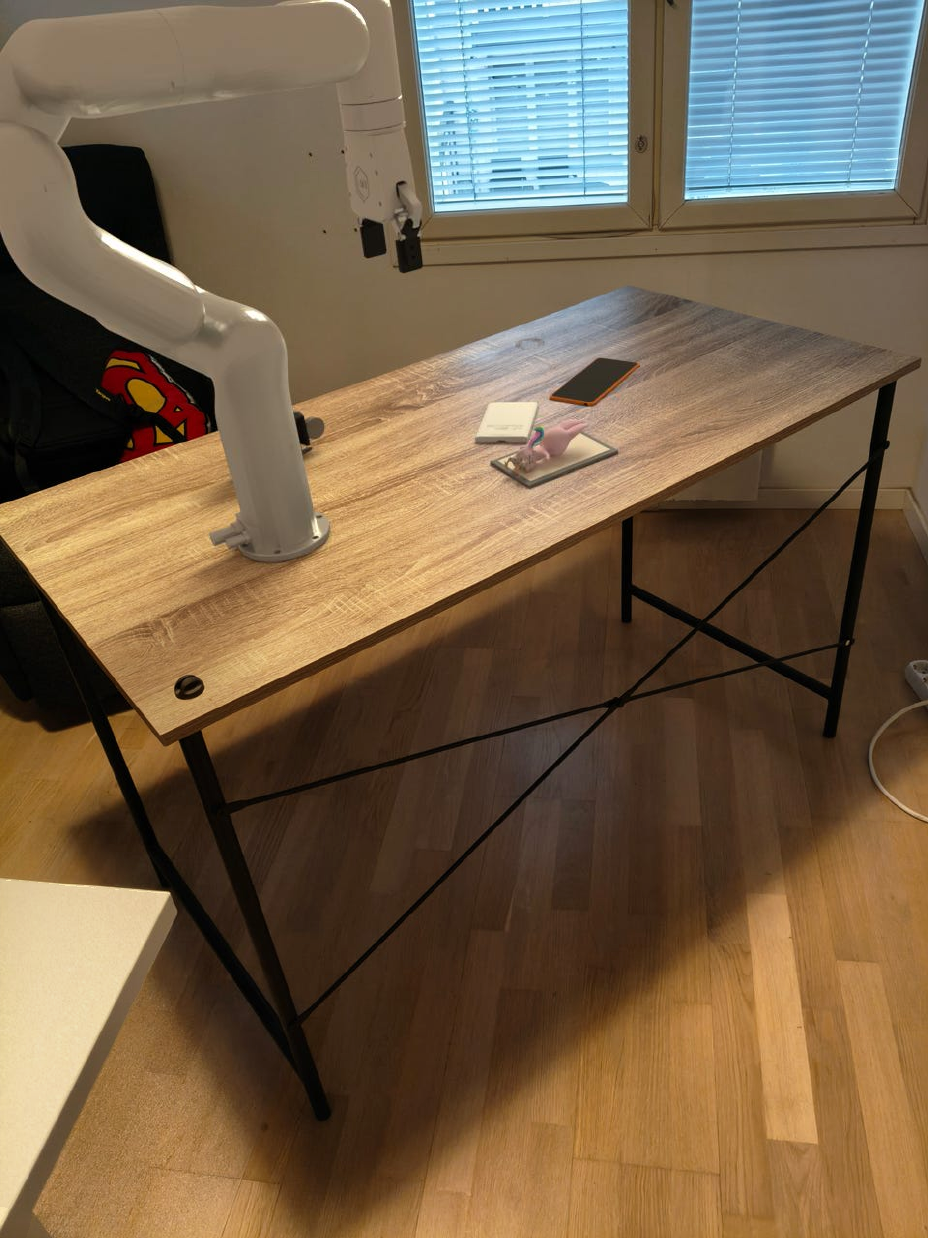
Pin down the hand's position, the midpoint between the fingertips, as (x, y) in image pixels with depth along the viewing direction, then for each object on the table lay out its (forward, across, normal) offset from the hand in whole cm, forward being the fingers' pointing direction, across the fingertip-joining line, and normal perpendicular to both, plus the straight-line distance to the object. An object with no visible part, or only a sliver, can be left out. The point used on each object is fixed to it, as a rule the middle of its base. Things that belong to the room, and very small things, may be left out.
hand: (393, 262), depth 124 cm
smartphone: (+31, -8, +39) cm, 50 cm away
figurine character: (+31, -19, -15) cm, 39 cm away
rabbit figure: (+30, +10, +16) cm, 35 cm away
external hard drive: (+31, -4, +18) cm, 36 cm away
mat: (+30, +10, +17) cm, 36 cm away
